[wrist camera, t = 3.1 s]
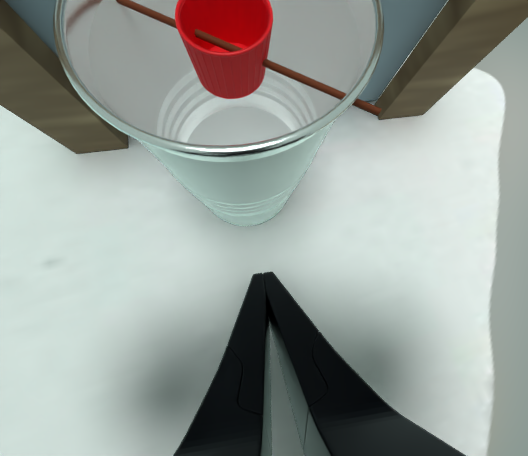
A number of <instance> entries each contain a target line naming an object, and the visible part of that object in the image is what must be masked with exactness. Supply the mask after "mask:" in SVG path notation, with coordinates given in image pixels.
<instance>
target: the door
mask: <svg viewBox="0 0 528 456" xmlns="http://www.w3.org/2000/svg"><path fill="white" fill-rule="evenodd" d="M5 1H6V2H7V3H8V4H9V6H10V7H11V8H12V9H13V10H14V11H15V12H16V13H17V14H18V15H19V16H20V17H21V18H22V19H23V20H24V22H25V23H26V24H27V25H28V26H29V27H30V28H31V29H32V30H33V31H34V32H35V33H36V34H37V35H38V36H39V37H40V39H41V40H42V41H43V42H44V43H45V44H46V45H47V46H48V47H49V48H50V49H51V50H52V51H53V52H54V53H55V55H56V56H57V57H58V58H59V56H58V52H57V49H56V45H55V39H54V32H53V13H54V4H55V0H5ZM381 1H382V5H383V13H384V37H383V45H382V50H381V54H380V58H379V61H378V63H377V66H376V68H375V71H374V73H373V75H372V77H371V79H370V81H369V82H368V84H367V86H366V87H365V89H364V90H363V92H362V93H361V94H360V96H359V97H358V99H360V100H363V101H370V100H377V99H378V98H379V96H380V95H381V94H382V92H383V91H384V89H385V88H386V86H387V85H388V84H389V82H390V81H391V79H392V78H393V77H394V75H395V74H396V72H397V71H398V69H399V68H400V67H401V65H402V64H403V62H404V61H405V60H406V58H407V57H408V55H409V54H410V52H411V51H412V50H413V48H414V47H415V45H416V44H417V43H418V41H419V40H420V38H421V37H422V35H423V34H424V33H425V31H426V30H427V28H428V27H429V26H430V24H431V23H432V21H433V20H434V18H435V17H436V16H437V14H438V13H439V11H440V10H441V9H442V7H443V6H444V4H445V3H446V1H447V0H381Z"/></svg>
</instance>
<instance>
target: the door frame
mask: <svg viewBox="0 0 528 456" xmlns="http://www.w3.org/2000/svg"><path fill="white" fill-rule="evenodd" d="M527 17H528V0H449V1H448V2H447V4H446V5H445V6H444V8H443V9H442V11H441V12H440V13H439V15H438V16H437V18H436V19H435V20H434V22H433V23H432V25H431V26H430V27H429V29H428V30H427V32H426V33H425V35H424V36H423V37H422V39H421V40H420V42H419V43H418V44H417V46H416V47H415V49H414V50H413V51H412V53H411V54H410V56H409V57H408V58H407V60H406V61H405V63H404V64H403V65H402V67H401V68H400V70H399V71H398V72H397V74H396V75H395V77H394V78H393V79H392V81H391V82H390V84H389V85H388V87H387V88H386V89H385V91H384V92H383V94H382V95H381V96H380V98H379V99H378V101H377V102H376V103H375V106H377V107H379V108H381V109H382V110H381V112H380V113H379V115H378V119H379V120H381V119H390V118H399V117H408V116H417V115H423V114H424V113H425V112H427V111H428V110H429V109H430V108H431V107H432V106H433V105H434V104H435V103H436V102H437V101H438V100H439V99H440V98H442V97H443V96H444V95H445V94H446V93H447V92H448V91H449V90H450V89H451V88H452V87H453V86H454V85H455V84H457V83H458V82H459V81H460V80H461V79H462V78H463V77H464V76H465V75H466V74H467V73H468V72H469V71H470V70H472V69H473V68H474V67H475V66H476V65H477V64H478V63H479V62H480V61H481V60H482V59H483V58H484V57H485V56H487V55H488V54H489V53H490V52H491V51H492V50H493V49H494V48H495V47H496V46H497V45H498V44H499V43H500V42H501V41H503V40H504V39H505V38H506V37H507V36H508V35H509V34H510V33H511V32H512V31H513V30H514V29H515V28H516V27H518V26H519V25H520V24H521V23H522V22H523V21H524V20H525V19H526V18H527ZM0 105H1V106H3V107H4V108H6V109H7V110H9V111H11V112H12V113H14V114H15V115H17V116H18V117H20V118H21V119H23V120H25V121H26V122H28V123H29V124H31V125H32V126H34V127H36V128H37V129H39V130H40V131H42V132H43V133H45V134H46V135H48V136H50V137H51V138H53V139H54V140H56V141H57V142H59V143H61V144H62V145H64V146H65V147H67V148H68V149H70V150H71V151H73V152H75V153H76V154H79V153H88V152H97V151H106V150H115V149H124V148H128V135H127V134H125V133H123V132H121V131H119V130H118V129H116V128H115V127H113V126H112V125H111V124H109V123H108V122H106V121H105V120H104V119H102V118H101V117H100V116H99V115H98V114H97V113H95V112H94V111H93V110H92V109H91V108H90V107H89V106H88V105H87V104H86V103H85V102H84V100H83V99H82V98H81V97H80V95H79V94H78V93H77V92H76V90H75V89H74V88H73V86H72V84H71V82H70V81H69V79H68V77H67V76H66V74H65V71H64V69H63V67H62V64H61V62H60V59H59V58H58V57H57V56H56V55H55V53H54V52H53V51H52V50H51V49H50V48H49V47H48V46H47V45H46V44H45V43H44V42H43V41H42V40H41V39H40V37H39V36H38V35H37V34H36V33H35V32H34V31H33V30H32V29H31V28H30V27H29V26H28V25H27V24H26V23H25V22H24V20H23V19H22V18H21V17H20V16H19V15H18V14H17V13H16V12H15V11H14V10H13V9H12V8H11V7H10V6H9V4H8V3H7V2H6V1H5V0H0Z"/></svg>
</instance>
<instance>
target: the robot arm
mask: <svg viewBox="0 0 528 456" xmlns="http://www.w3.org/2000/svg"><path fill="white" fill-rule="evenodd" d="M268 316H269V317H268ZM269 323H270V327H271V331H272V335H273V339H274V342H275V346H276V350H277V354H278V357H279V361H280V365H281V369H282V372H283V376H284V380H285V384H286V387H287V391H288V395H289V399H290V402H291V406H292V410H293V414H294V417H295V421H296V425H297V429H298V432H299V436H300V440H301V444H302V447H303V450H304V455H305V456H466V455H464V454H463V453H461V452H459V451H458V450H456V449H455V448H453V447H452V446H450V445H448V444H447V443H445V442H444V441H442V440H440V439H439V438H437V437H436V436H434V435H432V434H431V433H429V432H428V431H426V430H424V429H423V428H421V427H420V426H418V425H416V424H415V423H413V422H412V421H410V420H408V419H407V418H405V417H404V416H402V415H401V414H399V413H398V412H397V411H395V410H394V409H393V408H392V407H390V406H389V405H388V404H387V403H386V402H385V401H384V400H383V399H382V398H381V397H380V396H379V395H378V394H377V393H376V392H375V391H374V390H373V389H372V388H371V387H370V386H369V385H368V384H367V383H366V382H365V381H364V380H363V379H362V378H361V377H360V376H359V375H358V374H357V373H356V372H355V371H354V370H353V369H352V368H351V367H350V366H349V365H348V364H347V363H346V362H345V361H344V359H343V358H342V357H341V356H340V355H339V354H338V353H337V352H336V351H335V350H334V348H333V347H332V346H331V345H330V344H329V342H328V341H327V340H326V339H325V338H324V336H323V335H322V334H321V332H319V330H318V329H317V328H316V326H315V325H314V324H313V322H312V321H311V320H310V319H309V317H308V316H307V315H306V314H305V312H304V311H303V310H302V309H301V307H300V306H299V305H298V303H297V302H296V301H295V300H294V298H293V297H292V296H291V295H290V293H289V292H288V291H287V290H286V288H285V287H284V286H283V284H282V283H281V282H280V281H279V279H278V278H277V277H276V276H275V274H274V273H273V272H265V273H263V274H262V273H258V274H254V275H253V276H252V279H251V282H250V285H249V287H248V290H247V293H246V295H245V298H244V301H243V304H242V306H241V309H240V312H239V314H238V317H237V320H236V323H235V325H234V328H233V331H232V334H231V336H230V339H229V342H228V346H227V347H226V350H225V352H224V355H223V358H222V360H221V363H220V365H219V367H218V370H217V372H216V374H215V377H214V379H213V381H212V383H211V385H210V387H209V389H208V391H207V393H206V395H205V397H204V399H203V401H202V403H201V405H200V407H199V409H198V411H197V413H196V415H195V417H194V419H193V421H192V423H191V425H190V427H189V429H188V431H187V433H186V435H185V437H184V439H183V440H182V442H181V444H180V445H179V447H178V449H177V450H176V452H175V453H174V455H173V456H272V430H271V380H270V330H269Z"/></svg>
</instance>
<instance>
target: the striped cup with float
mask: <svg viewBox="0 0 528 456" xmlns="http://www.w3.org/2000/svg"><path fill="white" fill-rule="evenodd" d="M53 32H54V39H55V45H56V49H57V52H58V56H59V59H60V62H61V64H62V67H63V69H64V71H65V74H66V76H67V77H68V79H69V81H70V82H71V84H72V86H73V88H74V89H75V90H76V92H77V93H78V94H79V95H80V97H81V98H82V99H83V100H84V102H85V103H86V104H87V105H88V106H89V107H90V108H91V109H92V110H93V111H94V112H95V113H97V114H98V115H99V116H100V117H101V118H102V119H104V120H105V121H106V122H108V123H109V124H111V125H112V126H113V127H115V128H116V129H118V130H119V131H121V132H123V133H125V134H127V135H129V136H131V137H132V138H134V139H136V140H138V141H139V142H140V143H142V144H143V145H144V146H145V147H146V148H147V149H148V150H149V151H150V152H151V153H152V154H153V155H154V156H155V157H156V158H157V159H158V160H159V161H160V162H161V163H162V164H163V165H164V166H165V167H166V168H167V169H168V170H169V172H170V173H171V174H172V175H173V176H174V177H175V178H176V179H177V180H178V181H179V182H180V183H181V184H182V185H183V186H184V187H185V188H186V189H187V190H188V191H189V192H190V193H191V194H192V195H193V196H195V197H196V198H197V199H198V200H199V201H201V202H202V203H203V204H204V205H206V206H207V207H208V208H209V209H210V210H211V211H212V212H213V213H214V214H215V215H216V216H217V217H219V218H220V219H222V220H224V221H225V222H228V223H230V224H233V225H238V226H253V225H258V224H261V223H264V222H266V221H268V220H270V219H271V218H273V217H274V216H275V215H276V214H277V213H278V212H279V211H280V210H281V209H282V208H283V206H284V205H285V203H286V201H287V200H288V198H289V196H290V195H291V193H292V192H293V190H294V189H295V188H296V187H297V185H298V184H299V182H300V180H301V179H302V177H303V175H304V174H305V172H306V171H307V169H308V167H309V166H310V164H311V162H312V160H313V158H314V156H315V154H316V152H317V150H318V149H319V147H320V145H321V143H322V142H323V140H324V138H325V136H326V135H327V133H328V131H329V130H330V128H331V126H332V125H333V123H334V121H335V120H336V119H337V118H338V117H339V116H341V115H342V114H343V113H344V112H345V111H346V110H347V109H348V108H349V107H350V106H351V105H354V106H356V107H358V108H360V109H363V110H365V111H367V112H370V113H372V114H374V115H377V116H378V115H379V113H380V112H381V110H382V109H381V108H379V107H377V106H374V105H372V104H370V103H367V102H365V101H363V100H360V99H358V97H359V96H360V94H361V93H362V92H363V90H364V89H365V87H366V86H367V84H368V82H369V81H370V79H371V77H372V75H373V73H374V71H375V68H376V66H377V63H378V61H379V58H380V54H381V50H382V45H383V37H384V13H383V5H382V1H381V0H55V4H54V13H53Z"/></svg>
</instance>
